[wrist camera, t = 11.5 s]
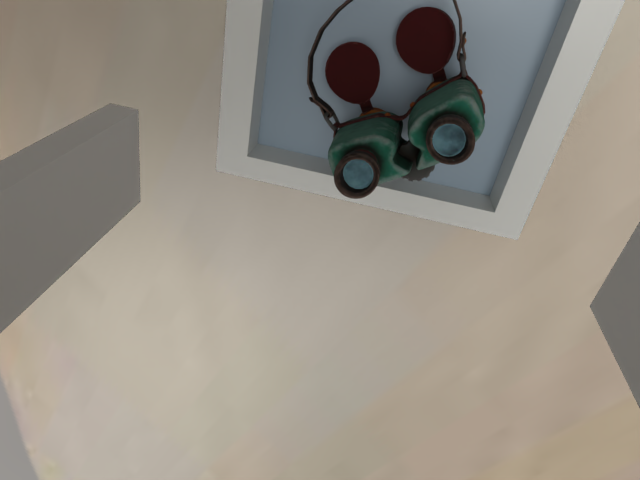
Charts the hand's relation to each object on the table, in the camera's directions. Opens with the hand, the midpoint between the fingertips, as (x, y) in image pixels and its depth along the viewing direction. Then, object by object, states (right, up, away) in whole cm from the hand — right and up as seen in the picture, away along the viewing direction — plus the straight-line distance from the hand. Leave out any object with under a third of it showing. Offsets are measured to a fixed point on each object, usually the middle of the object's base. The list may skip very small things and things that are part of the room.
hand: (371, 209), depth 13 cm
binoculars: (+3, +10, +17) cm, 20 cm away
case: (+3, +10, +18) cm, 21 cm away
